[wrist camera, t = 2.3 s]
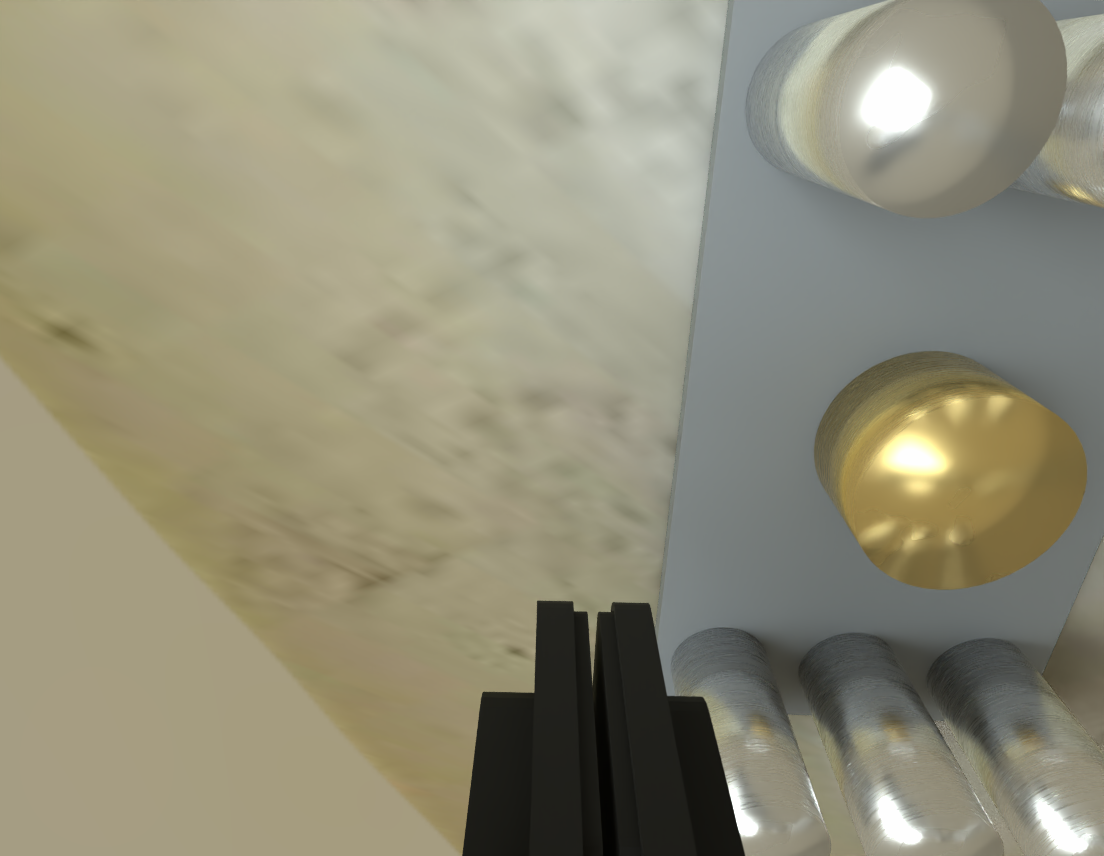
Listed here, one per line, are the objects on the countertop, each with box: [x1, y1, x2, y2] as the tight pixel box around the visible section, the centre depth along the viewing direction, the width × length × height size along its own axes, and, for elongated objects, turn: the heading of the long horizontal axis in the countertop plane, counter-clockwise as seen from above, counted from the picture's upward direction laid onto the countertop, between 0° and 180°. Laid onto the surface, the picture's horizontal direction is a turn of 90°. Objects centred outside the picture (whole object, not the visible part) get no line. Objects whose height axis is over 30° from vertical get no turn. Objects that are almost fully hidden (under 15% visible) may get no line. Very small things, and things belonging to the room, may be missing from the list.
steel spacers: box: [671, 0, 1104, 856], centre depth 16 cm, size 11×19×6 cm, turn 178°
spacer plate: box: [655, 0, 1104, 721], centre depth 19 cm, size 12×20×1 cm, turn 178°
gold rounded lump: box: [814, 351, 1087, 590], centre depth 17 cm, size 5×5×3 cm
